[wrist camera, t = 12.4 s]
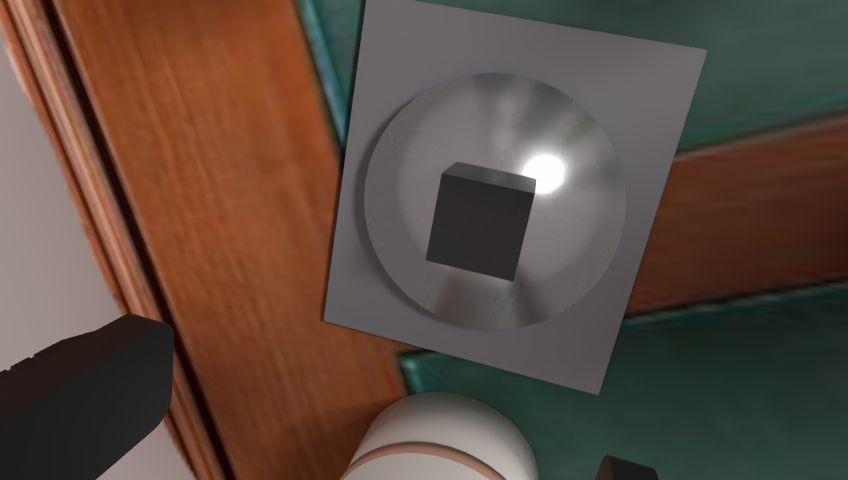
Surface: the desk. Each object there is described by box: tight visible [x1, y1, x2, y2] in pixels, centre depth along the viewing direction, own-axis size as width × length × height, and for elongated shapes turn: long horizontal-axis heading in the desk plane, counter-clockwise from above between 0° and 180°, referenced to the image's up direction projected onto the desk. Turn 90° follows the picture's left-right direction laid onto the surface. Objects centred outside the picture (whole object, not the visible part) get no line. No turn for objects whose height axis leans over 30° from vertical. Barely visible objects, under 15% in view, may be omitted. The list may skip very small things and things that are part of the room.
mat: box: [324, 0, 708, 395], centre depth 29 cm, size 18×16×1 cm
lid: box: [364, 73, 626, 330], centre depth 26 cm, size 13×13×5 cm
